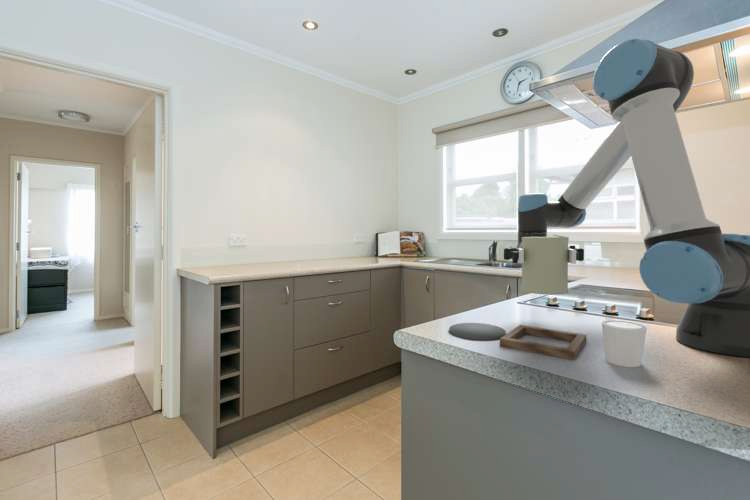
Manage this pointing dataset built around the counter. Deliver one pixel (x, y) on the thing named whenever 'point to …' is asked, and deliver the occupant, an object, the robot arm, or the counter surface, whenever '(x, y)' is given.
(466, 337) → the mat
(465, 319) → the counter surface
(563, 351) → the pocket
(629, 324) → the shot glass
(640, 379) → the counter surface
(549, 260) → the can
